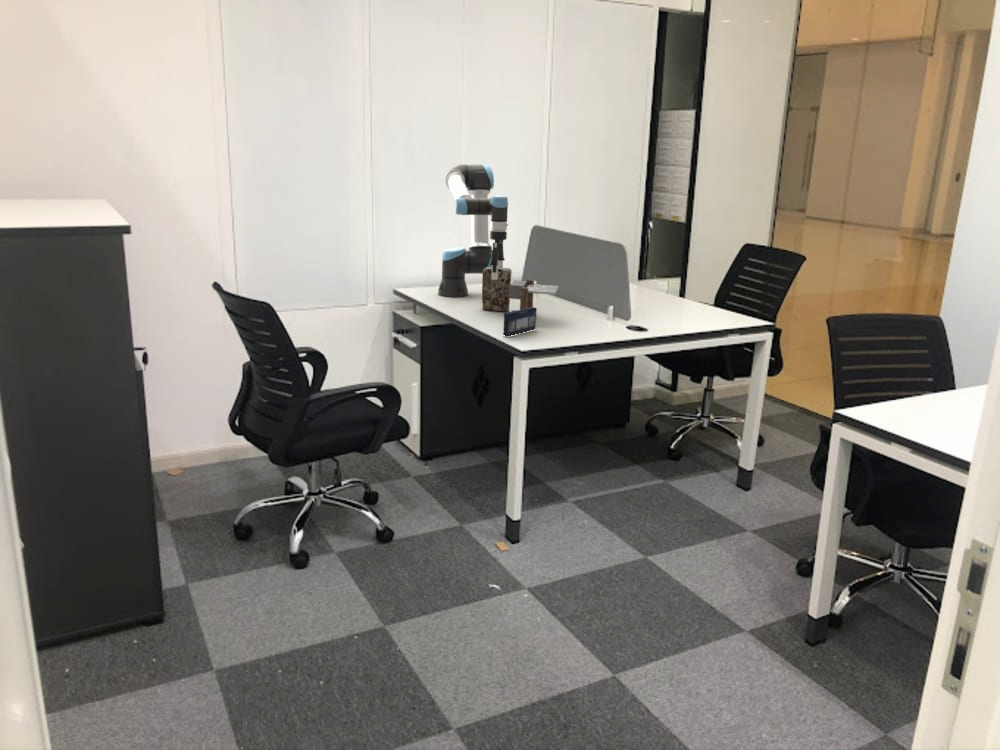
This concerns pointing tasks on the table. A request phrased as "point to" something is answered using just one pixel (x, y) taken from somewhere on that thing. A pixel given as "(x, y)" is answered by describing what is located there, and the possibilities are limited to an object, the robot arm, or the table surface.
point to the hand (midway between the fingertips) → (497, 277)
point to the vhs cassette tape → (519, 321)
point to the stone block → (496, 290)
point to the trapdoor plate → (530, 289)
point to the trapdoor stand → (526, 296)
